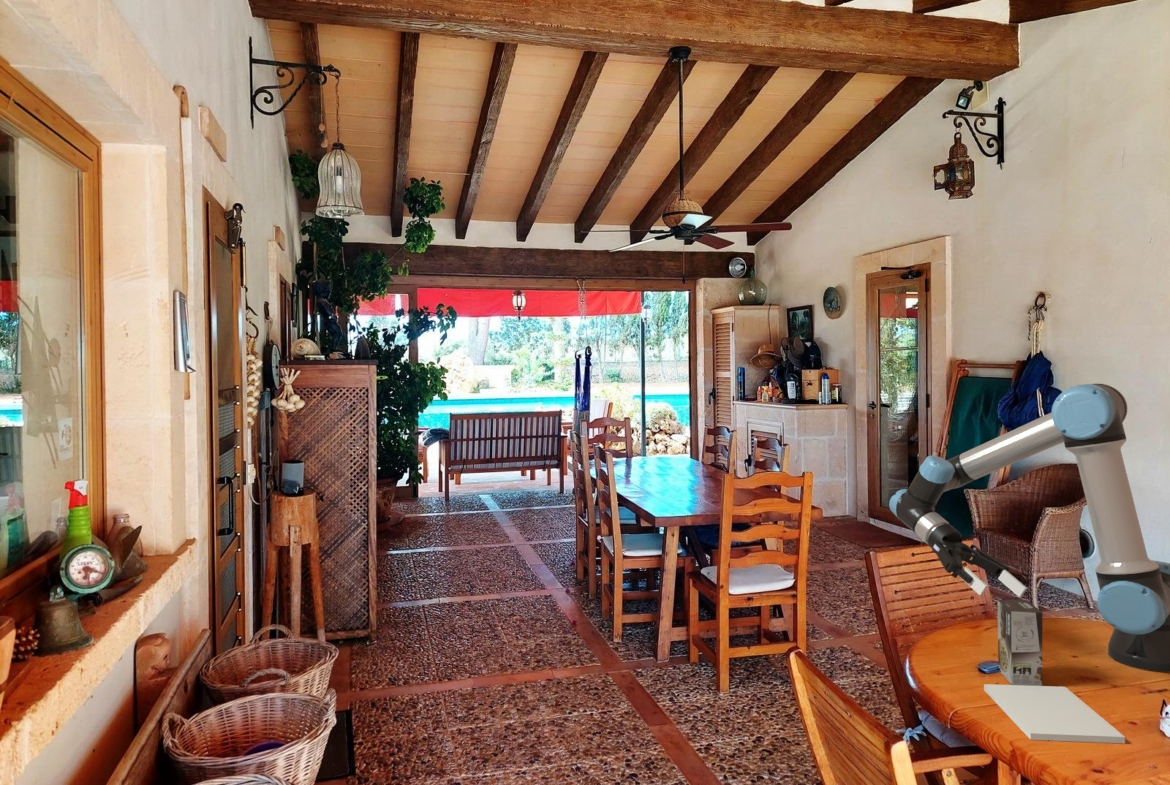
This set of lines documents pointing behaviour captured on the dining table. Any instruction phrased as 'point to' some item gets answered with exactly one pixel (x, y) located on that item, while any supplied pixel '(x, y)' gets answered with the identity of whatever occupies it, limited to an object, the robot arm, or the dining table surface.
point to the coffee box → (1020, 642)
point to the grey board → (1052, 714)
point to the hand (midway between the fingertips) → (1004, 591)
